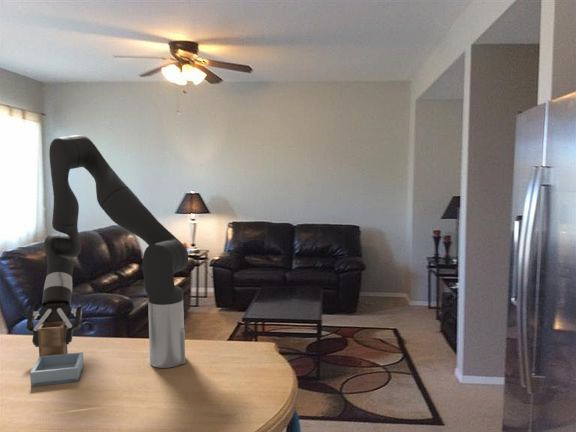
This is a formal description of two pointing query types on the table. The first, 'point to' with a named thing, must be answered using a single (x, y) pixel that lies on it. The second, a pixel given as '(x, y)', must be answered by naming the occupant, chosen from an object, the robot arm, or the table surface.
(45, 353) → the walnut crate
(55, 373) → the blue crate
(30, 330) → the robot arm
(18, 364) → the table surface
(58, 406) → the table surface
